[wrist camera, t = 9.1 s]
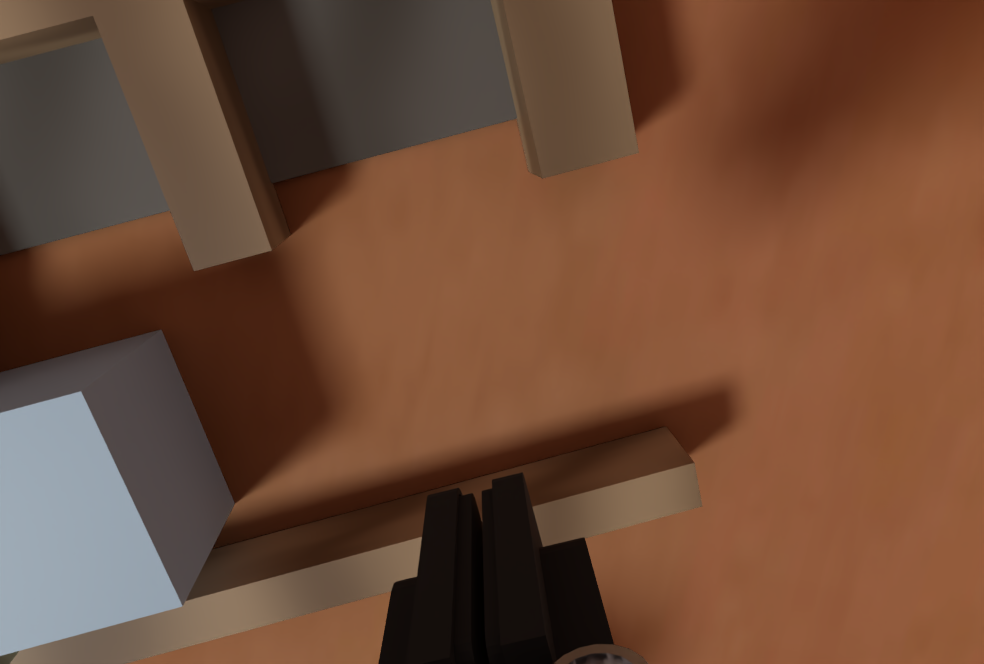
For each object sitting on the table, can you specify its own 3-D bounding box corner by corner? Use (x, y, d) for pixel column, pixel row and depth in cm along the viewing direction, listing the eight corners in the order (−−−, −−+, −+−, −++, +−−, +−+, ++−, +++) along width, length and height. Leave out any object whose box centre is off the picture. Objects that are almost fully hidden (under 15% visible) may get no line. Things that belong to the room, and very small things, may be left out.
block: (162, 328, 20) (80, 391, 15) (235, 501, 22) (182, 606, 17) (-37, 381, 20) (-182, 461, 15) (52, 551, 22) (-52, 670, 17)
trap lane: (556, -149, 17) (592, -225, 14) (673, 466, 23) (722, 535, 19) (-277, 68, 17) (-478, 53, 13) (42, 637, 23) (-36, 742, 19)
